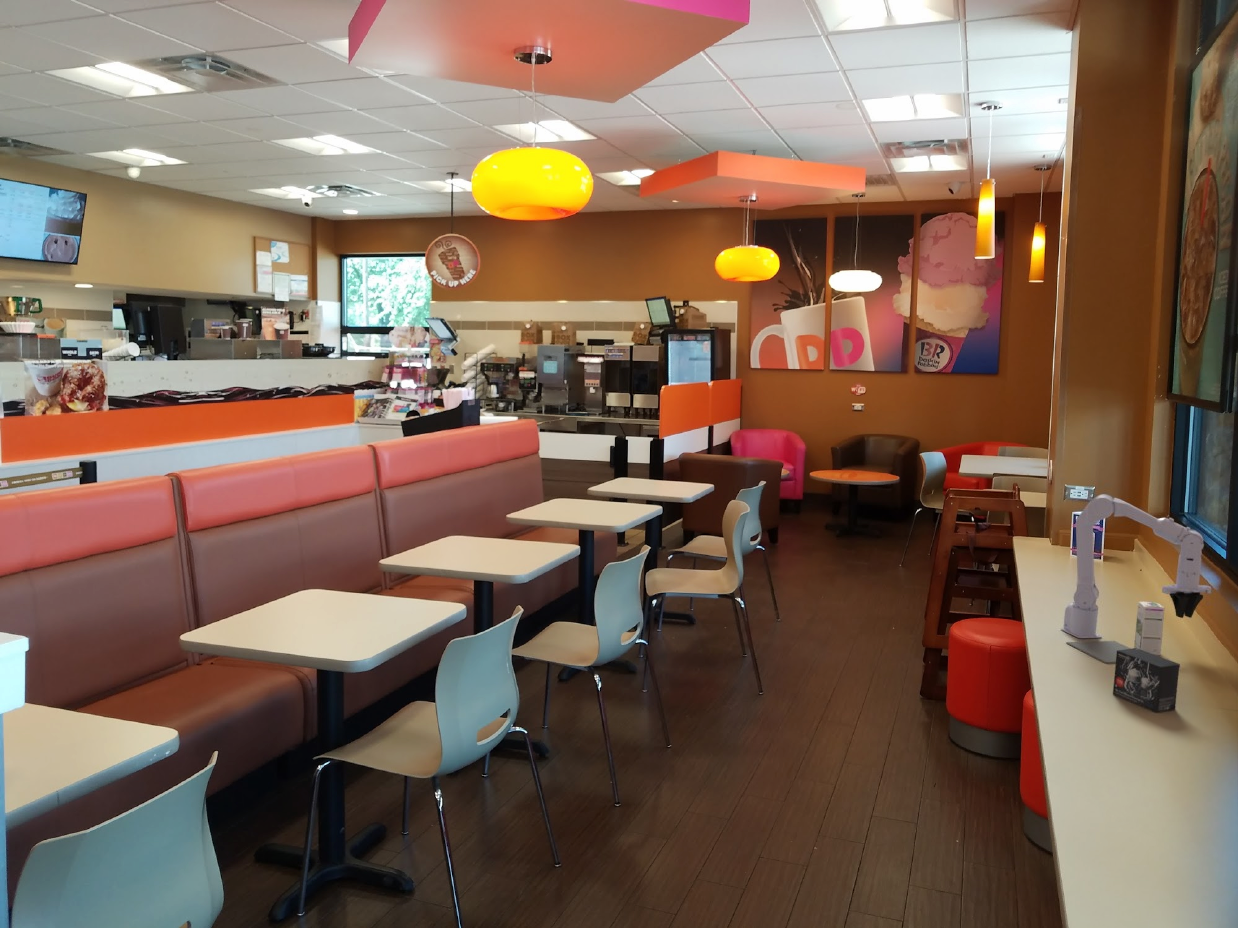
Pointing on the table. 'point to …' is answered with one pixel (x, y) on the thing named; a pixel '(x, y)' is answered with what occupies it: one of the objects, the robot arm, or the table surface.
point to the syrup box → (1149, 627)
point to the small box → (1146, 679)
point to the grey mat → (1100, 649)
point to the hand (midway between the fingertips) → (1183, 616)
